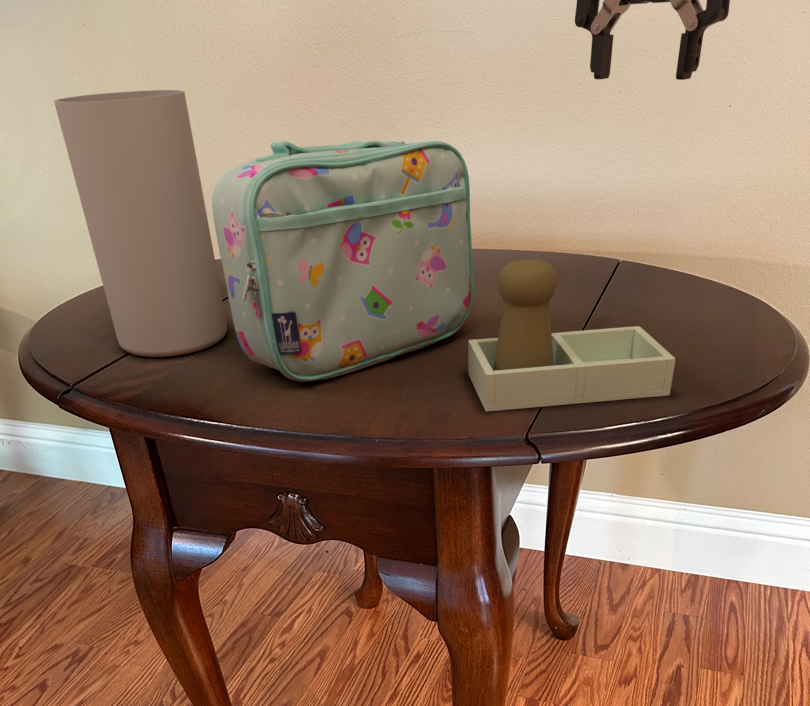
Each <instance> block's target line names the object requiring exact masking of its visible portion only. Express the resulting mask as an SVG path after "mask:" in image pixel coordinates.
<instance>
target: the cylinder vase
mask: <svg viewBox="0 0 810 706" xmlns="http://www.w3.org/2000/svg"><path fill="white" fill-rule="evenodd" d="M53 103H54V106H55V111H56V114H57V118H58V121H59V125H60V130H61V133H62V136H63V140H64V144H65V147H66V151H67V155H68V160H69V162H70V167H71V171H72V175H73V178H74V182H75V185H76V188H77V189H76V190H77V193H78V196H79V197H78V198H79V200H80V203H81V209H82V211H83V216H84V220H85V223H86V226H87V230H88V234H89V239H90V241H91V245H92V246H91V247H92V249H93V252H94V257H95V260H96V265H97V268H98V272H99V275H100V280H101V282H102V287H103V290H104V294H105V297H106V301H107V305H108V306H107V307H108V309H109V313H110V316H111V320H112V324H113V328H114V331H115V335H116V339H117V343H118V345H119V346H120V347H121V349H122V350H123V351H125V352H126V353H128V354H131V355H134V356H139V357H144V358H145V357H146V358H169V357H176V356H183V355H188V354H192V353H196V352H200V351H203V350H205V349H207V348H208V349H209V348H210V347H212V346H215V344H217V343H218V342H220V341H221V340H223V338H224V337H225V336H226V334H227V331H228V324H227V319H226V313H225V308H224V303H223V296H222V290H221V286H220V285H221V284H220V281H219V275H218V270H217V264H216V258H215V254H214V248H213V241H212V236H211V230H210V225H209V220H208V219H209V218H208V213H207V208H206V204H205V203H206V202H205V198H204V192H203V191H204V190H203V187H202V181H201V175H200V170H199V164H198V159H197V154H196V148H195V143H194V136H193V131H192V127H191V126H192V125H191V120H190V115H189V108H188V103H187V98H186V92H185V90H180V89H156V90H155V89H153V90H133V91H131V90H130V91H119V92H118V91H117V92H105V93H95V94H85V95H76V96H69V97H68V96H67V97H63V98H57V99H54V100H53Z"/></svg>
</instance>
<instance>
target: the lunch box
mask: <svg viewBox="0 0 810 706" xmlns="http://www.w3.org/2000/svg"><path fill="white" fill-rule="evenodd" d="M270 148H271V151H272V154H270V155H265V156H258V157H256V158H254V159H252V160H248V161H245V162H243V163H241V164H238V165H236V166H235V167H232V168H230V169H228V170H227V171H225V172H224V173H222V174H221V176H219V178H218V179H217V181H216V182H215V185H214V188H213V191H212V197H211V209H212V217H213V224H214V229H215V233H216V234H215V235H216V240H217V245H218V251H219V256H220V261H221V266H222V271H223V276H224V281H225V285H226V290H227V291H226V292H227V296H228V302H229V307H230V313H231V318H232V322H233V326H234V330H235V334H236V338H237V341H238V344H239V345H240V348H241V350H242V352H243V353H244V354H245V356H246V357H247V358H248V359H250V360H251V361H252V362H254V363H256V364H259V365H263V366H266V367H268V368H270V369H274V370H277V371H279V372H280V374H281V375H283V376H284V377H286V378H287V379H289V380H291V381H295V382H314V381H318V380H322V381H325V380H328V379H332V378H334V377H338V376H342V375H346V374H350V373H353V372H356V371H359V370H362V369H366V368H368V367H370V366H373V365H377V364H380V363H383V362H385V361H388V360H392V359H394V358H396V357H399V356H402V355H404V354H408V353H411V352H415V351H417V350H420V349H423V348H425V347H428V346H430V345H433V344H436V343H438V342H439V341H442V340H444V339H447V338H449V337H451V336H452V335H454V334H455V333H457V332H458V331H459V330H460V329H461V327H463V325H464V324H465V322H466V320H467V318H468V317H469V315H470V312H471V310H472V306H473V302H474V295H475V294H474V292H475V277H474V276H475V275H474V262H473V261H474V260H473V247H472V246H473V244H472V243H473V242H472V227H471V198H470V197H471V192H470V191H471V190H470V189H471V188H470V186H471V185H470V175H469V170H468V166H467V164H466V161H465V158H463V155H462V154H461V153H460V151H459V150H458V149H457V148H456V147H454V146H453V145H451V144H450V143H447V142H445V141H440V140H427V141H421V142H420V141H419V142H410V143H407V142H405V140H402V141H391V140H390V141H378V140H370V141H352V142H347V143H342V144H338V145H337V144H327V145H318V146H307V147H306V146H304V147H301V146H297V145H296V144H294V143H292V142H290V141H272V142H271V143H270Z"/></svg>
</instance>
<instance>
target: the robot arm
mask: <svg viewBox="0 0 810 706" xmlns="http://www.w3.org/2000/svg"><path fill="white" fill-rule="evenodd" d="M602 2H603V3H602V7H601V8H600V0H576V4H575V15H574V25H575V26H576V27H577V28H582V29H583V30H587V31H588V32H590V35H591V47H590V49H591V52H590V61H589V69H590V73H592V74H593V79H594V80H606V79H609V77H610V76H611V67H612V58H613V57H612V56H613V46H614V34H611V32H612V31H613V29H614V28H615V26H616V24H617V23H618V21H619V20H620V19H621V17H622V15H623V14H625V13H626V12H627V11H628V10H629V8H630V7H631V5H643V4H648V3H652V4H660V3H661V4H662V3H670V5H671V6H672V8H673V10H674V11H676V13H677V14H678V16H679V18H680V20H681V23H682V25H683V26H684V28H685V31H684V32H681V35H680V41H679V50H678V55H677V56H678V57H677V65H676V72H675V79H676V80H677V81H679V80H680V81H685V80H690V79H691V78H692V76H693V73H694V72H697V71H698V69H699V66H700V61H701V53H702V46H703V42H704V41H703V40H704V34H705V31H706V30H707V29H708V28H710V26H711V27H712V26H713V25H715V24H717V23H719V22H724V21H725V20H726V19H728V16H729V13H730V6H731V5H730V3H731V0H706V5H705V9H704V8H703V6H702V4H701V2H700V0H603V1H602ZM599 8H600V9H599Z"/></svg>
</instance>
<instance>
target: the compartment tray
mask: <svg viewBox="0 0 810 706" xmlns="http://www.w3.org/2000/svg"><path fill="white" fill-rule="evenodd" d="M551 333H552V332H551ZM497 344H498V337H489V338H488V337H487V338H477V339H468V341H467V345H468V347H467V348H468V349H467V350H468V351H467V354H468V355H467V361H468V362H467V368H468V369H467V375H468V376H469V379H470V381H471V383H472V384H473V387H474V389H475V392H476V394H477V397H478V399H479V400H480V402H481V405H482V407H483V409H484V411H485V412H497V411H508V410H509V411H510V410H521V409H530V408H542V407H554V406H564V405H576V404H589V403H599V402H610V401H623V400H632V399H633V400H634V399H643V398H644V399H645V398H655V397H666V396H667V397H668V396H671V389H672V384H673V383H672V382H673V377H674V371H675V366H676V365H675V364H676V358H675V356H673V354H671V353H670V352H669V351H668V350H667V349H666V348H664V347H663V346H662V345H661V344H660V343H659V342H658V341H656V339H654V338H653V336H651V335H650V334H649V333H648V332H647V331H646V330H644V328H642V327H641V326H640V325H636V326H623V327H610V328H599V329H598V328H597V329H587V330H575V331H574V330H573V331H562V332H561V331H560V332H553V333H552V347H553V361H554V366H544V367H532V368H520V369H508V370H497V371H493V369H494V363H495V357H496V350H497Z"/></svg>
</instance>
